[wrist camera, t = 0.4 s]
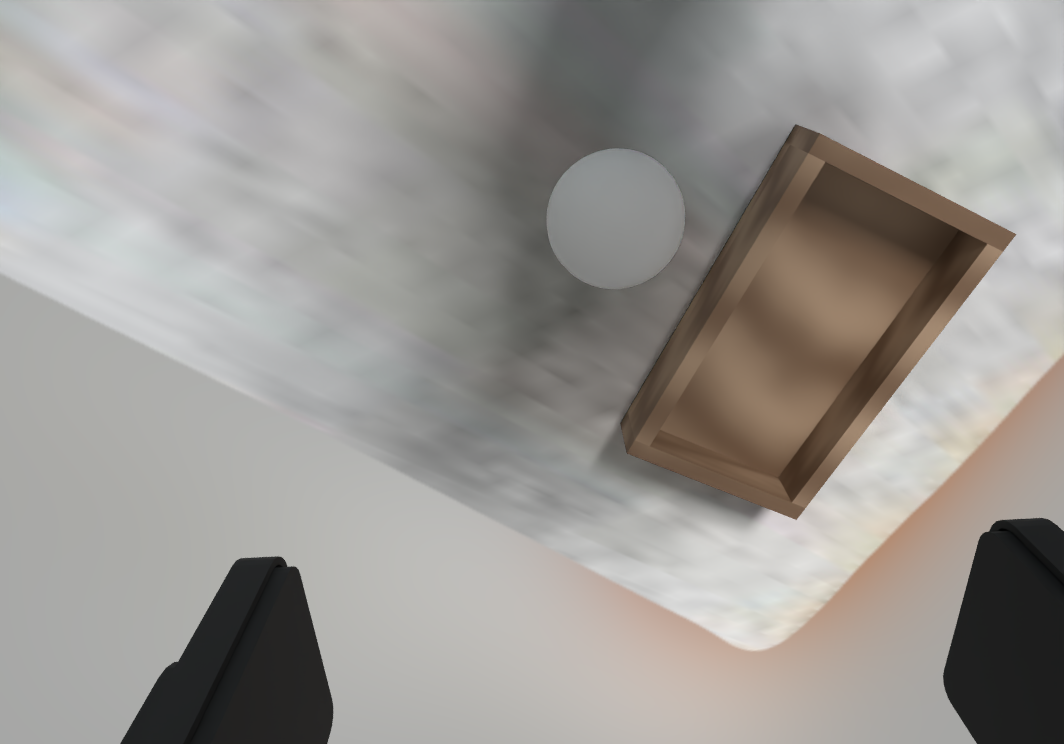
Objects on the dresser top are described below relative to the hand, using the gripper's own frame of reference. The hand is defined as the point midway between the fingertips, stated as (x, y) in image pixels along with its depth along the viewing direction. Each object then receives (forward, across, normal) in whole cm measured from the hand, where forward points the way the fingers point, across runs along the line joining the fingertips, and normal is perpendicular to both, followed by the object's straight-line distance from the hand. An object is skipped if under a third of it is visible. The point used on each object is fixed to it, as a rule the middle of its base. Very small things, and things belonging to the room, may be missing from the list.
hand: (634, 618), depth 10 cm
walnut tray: (+32, -14, +9) cm, 36 cm away
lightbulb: (+32, -2, 0) cm, 32 cm away
